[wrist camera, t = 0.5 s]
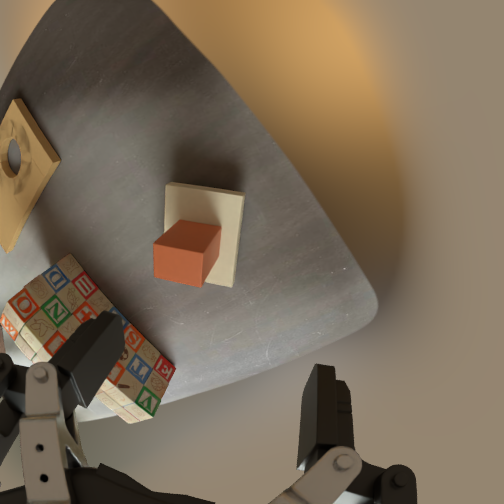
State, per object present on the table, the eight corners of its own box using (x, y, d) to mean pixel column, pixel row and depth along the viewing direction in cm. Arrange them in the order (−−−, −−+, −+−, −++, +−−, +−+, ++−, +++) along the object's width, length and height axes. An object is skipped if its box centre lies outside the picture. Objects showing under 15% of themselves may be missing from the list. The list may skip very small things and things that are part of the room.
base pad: (20, 97, 26) (12, 98, 24) (61, 160, 29) (53, 163, 27) (-21, 194, 33) (-27, 197, 32) (12, 249, 36) (6, 253, 35)
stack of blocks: (178, 367, 39) (145, 437, 28) (152, 378, 41) (120, 441, 30) (69, 251, 34) (5, 301, 23) (53, 274, 36) (-3, 322, 25)
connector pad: (176, 178, 28) (134, 201, 21) (248, 189, 27) (227, 216, 20) (173, 261, 32) (139, 303, 25) (237, 274, 31) (217, 322, 24)
